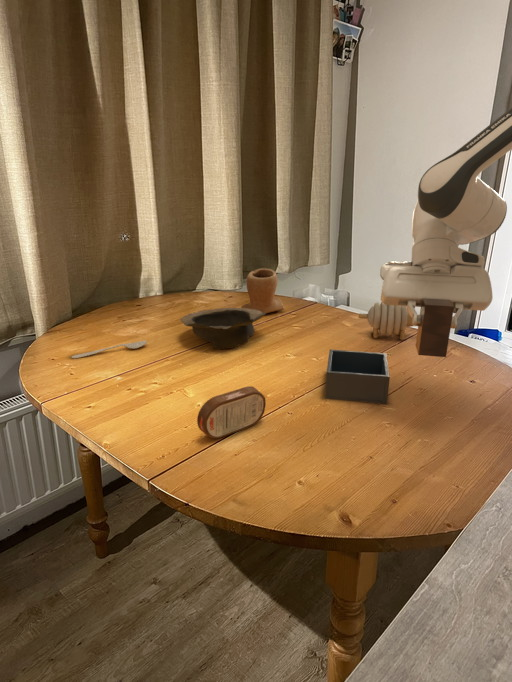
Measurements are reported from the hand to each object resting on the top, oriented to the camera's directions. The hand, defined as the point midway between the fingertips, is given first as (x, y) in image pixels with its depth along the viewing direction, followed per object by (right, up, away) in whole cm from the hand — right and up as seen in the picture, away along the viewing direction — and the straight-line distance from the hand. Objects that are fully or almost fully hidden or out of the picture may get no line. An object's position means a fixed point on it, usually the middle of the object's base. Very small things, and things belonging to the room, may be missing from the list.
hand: (434, 326), depth 94 cm
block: (0, -5, +3) cm, 5 cm away
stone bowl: (-43, -2, +55) cm, 70 cm away
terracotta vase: (-31, +7, +78) cm, 84 cm away
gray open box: (-10, -14, +24) cm, 30 cm away
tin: (-38, -21, +6) cm, 44 cm away
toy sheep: (+6, -1, +57) cm, 57 cm away
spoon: (-74, -6, +45) cm, 87 cm away
